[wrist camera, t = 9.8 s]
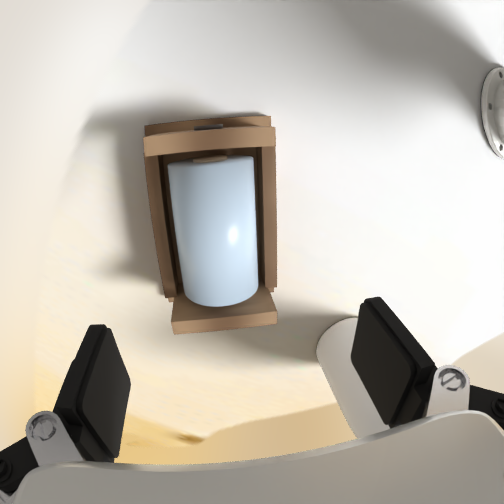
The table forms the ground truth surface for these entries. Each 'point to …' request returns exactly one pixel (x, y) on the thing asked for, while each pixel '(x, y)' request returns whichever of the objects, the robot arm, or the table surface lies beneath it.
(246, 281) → the cylinder
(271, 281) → the holder
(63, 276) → the table surface
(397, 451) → the robot arm
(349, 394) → the milk bottle
